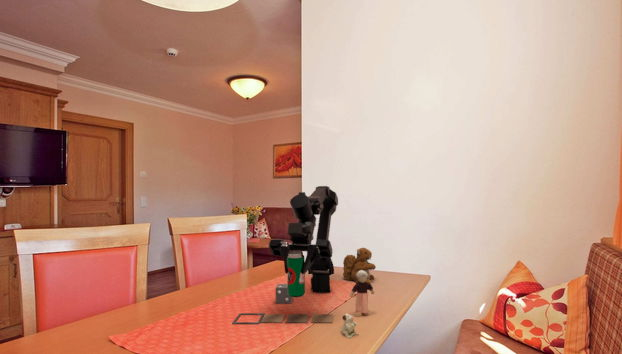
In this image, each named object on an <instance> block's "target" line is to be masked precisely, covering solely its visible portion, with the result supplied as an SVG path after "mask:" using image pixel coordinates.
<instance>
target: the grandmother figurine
mask: <svg viewBox="0 0 622 354" xmlns="http://www.w3.org/2000/svg"><path fill="white" fill-rule="evenodd" d="M356 275H357V278H358V280H359V282H356V283H355V285H354V286H353V287H352V289H351V290H350V294H349V297H350V298H353V297H354V295H355V293H356V297H355V313H354V316H355V317H362V316H369V315H370V311H369V292H370V293H371V295H374V294H375V290H374V289H373V288H374V287H373V285H371V283H370V284H369V283H367V282H365V281H366V280H367V277H368V274H367V273H366V272H365V271H363V270H360V271H358V272H357V274H356ZM368 291H369V292H368Z"/></svg>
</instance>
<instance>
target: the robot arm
mask: <svg viewBox="0 0 622 354" xmlns="http://www.w3.org/2000/svg"><path fill="white" fill-rule="evenodd" d="M289 203H290V207H291V209H292V212H293V214H294V218H296V219H297V222H289V223H288V226H287V235H288V236H289V241H290V242H291V243H289V242H288V241H284V239H283V238H271V239H270V240H269V243H268V248H269V250H270V252H271V254H272V255H273V256H274V257H282V259H283V266H284V273H285V274H287V256H288V253H289V252H306V256H305V258H304V262H305V263H304V266H303V274H305V275H306V273H308V275H311V277H310V289H311V291H312V293H313V294H314V293H316V294H317V293H319V294H320V293H321V294H323V293H326V294H328V293H331V278H330V277H331V276H332V275H334V274H335V268H334V262H333V260H332V257H333V247H332V243H331V241H330V240H329V237H330V229H331V222H332V221H331V220H332V216H333V215H334V214H335V213H336V211H337V206H339V198H338V195H337V193H336V192H335V191H333V190H332V189H331V188H330V186H328V185H317V186H316V187H315V190H313V192H312V193H311V194H310V195H308V196H307V194H306V192H305V191H304V192H303V191H301V192H298V194H297V195H295V196H293V197H292V198H291V199H290V202H289ZM318 215H319V218H318V225H317V224H316V222H317V217H316V216H318ZM316 226H317V231H316V240H315V243H314V244H313V243H312V241H314V231H315V227H316Z"/></svg>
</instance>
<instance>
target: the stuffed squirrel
mask: <svg viewBox="0 0 622 354" xmlns="http://www.w3.org/2000/svg"><path fill="white" fill-rule="evenodd" d="M369 260H370V261H371V260H372V251H371V250H370V249H368V248H366V247H361V248H357V249H356V256H355V254H354V255H353V254H346V256H345V257H344V259H343V262H342V263H343V269H342V270H343V273H342V275H343V277H344V279H346V280H347V281H354V282H356V283H358V282H359V280H358V278H357V275H356V274H357V272H358V271H360V270H363V271H365V272H366V273H367V274H368V277H367V280H366V281H365V282H367V283H369V284H370V285H371V280H374V279H375V276H374V274H371V272H370V271H372V270H375V269H376V267H377V266H376V265H375V264H374V263H371V262H369Z"/></svg>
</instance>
